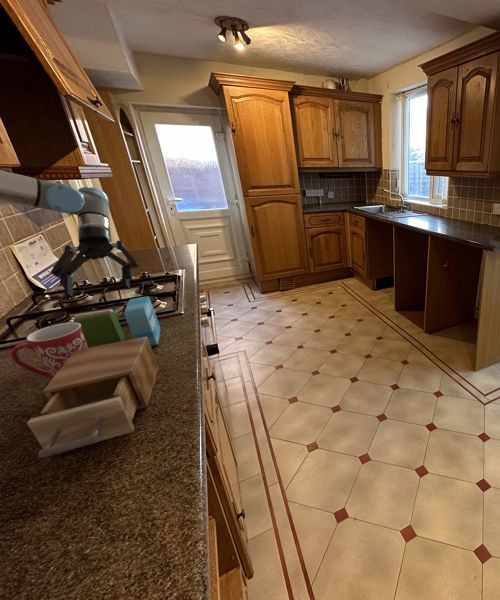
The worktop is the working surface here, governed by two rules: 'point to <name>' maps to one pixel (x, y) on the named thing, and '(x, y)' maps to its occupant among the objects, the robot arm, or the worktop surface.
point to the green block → (100, 327)
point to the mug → (52, 347)
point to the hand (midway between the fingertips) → (98, 291)
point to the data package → (142, 320)
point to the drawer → (85, 415)
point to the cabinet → (110, 368)
